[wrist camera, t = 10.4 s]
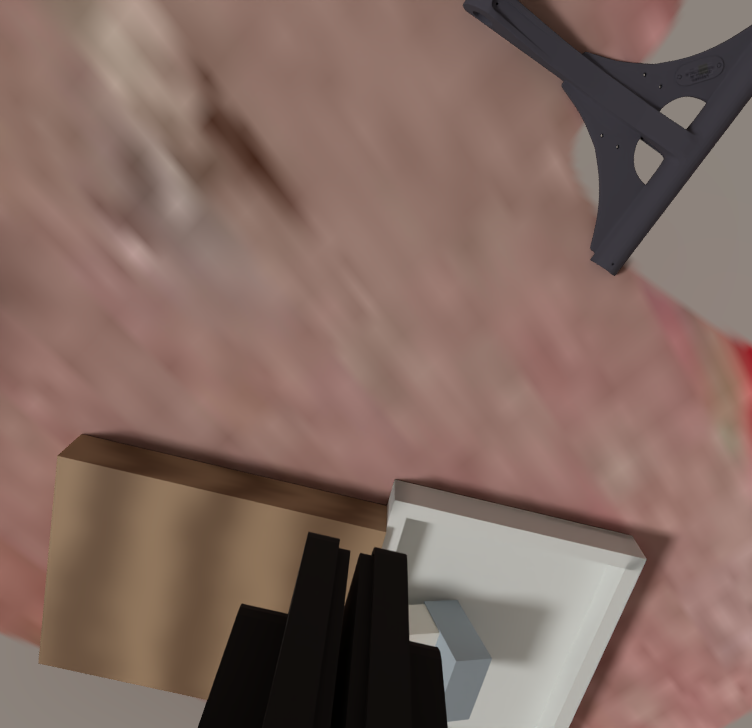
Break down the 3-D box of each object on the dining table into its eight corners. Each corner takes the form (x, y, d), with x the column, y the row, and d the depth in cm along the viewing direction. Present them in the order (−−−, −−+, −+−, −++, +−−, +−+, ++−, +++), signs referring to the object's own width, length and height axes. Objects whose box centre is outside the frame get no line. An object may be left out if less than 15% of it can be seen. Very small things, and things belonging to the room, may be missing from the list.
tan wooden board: (387, 505, 41) (386, 532, 38) (332, 690, 46) (328, 726, 43) (81, 434, 40) (57, 455, 37) (61, 630, 45) (38, 663, 42)
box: (632, 535, 41) (646, 559, 38) (533, 755, 47) (540, 787, 45) (394, 479, 40) (394, 500, 38) (327, 710, 46) (323, 740, 44)
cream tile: (424, 604, 41) (439, 632, 39) (405, 662, 43) (419, 692, 41) (353, 607, 39) (365, 637, 37) (336, 667, 41) (346, 700, 39)
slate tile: (424, 601, 41) (457, 599, 42) (405, 659, 43) (437, 656, 44) (456, 661, 37) (492, 658, 38) (433, 723, 39) (468, 719, 39)
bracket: (554, -148, 30) (569, -177, 27) (789, 36, 32) (824, 26, 29) (391, 127, 34) (391, 125, 31) (608, 272, 36) (624, 282, 34)
